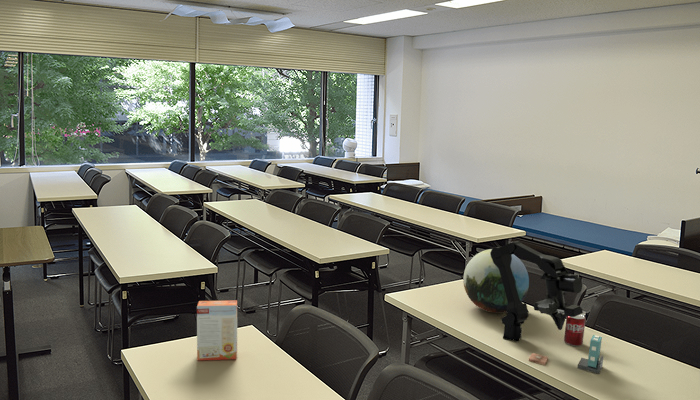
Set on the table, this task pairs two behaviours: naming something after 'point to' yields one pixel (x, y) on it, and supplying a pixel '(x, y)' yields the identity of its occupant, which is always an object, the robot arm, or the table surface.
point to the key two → (594, 351)
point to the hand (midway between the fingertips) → (560, 329)
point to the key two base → (584, 363)
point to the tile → (538, 358)
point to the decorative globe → (492, 282)
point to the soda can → (574, 330)
